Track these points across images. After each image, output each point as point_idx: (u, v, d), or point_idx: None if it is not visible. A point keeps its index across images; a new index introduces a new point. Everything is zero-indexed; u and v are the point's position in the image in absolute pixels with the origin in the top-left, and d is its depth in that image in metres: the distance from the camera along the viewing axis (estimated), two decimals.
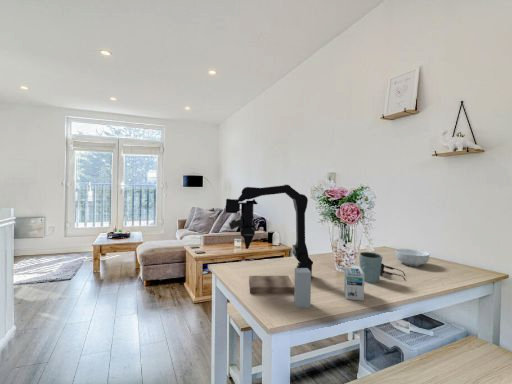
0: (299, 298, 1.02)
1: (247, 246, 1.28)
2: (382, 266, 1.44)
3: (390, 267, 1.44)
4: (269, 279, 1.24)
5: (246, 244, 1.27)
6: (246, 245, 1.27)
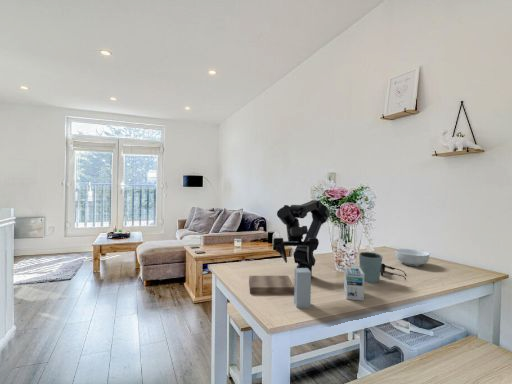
0: (299, 298, 1.02)
1: (309, 260, 1.13)
2: (383, 266, 1.44)
3: (391, 267, 1.44)
4: (269, 279, 1.24)
5: None
6: (310, 257, 1.13)
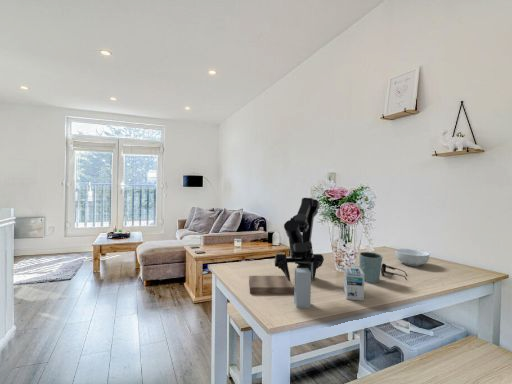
0: (299, 298, 1.02)
1: None
2: (384, 266, 1.44)
3: (392, 267, 1.43)
4: (269, 279, 1.24)
5: (314, 275, 1.07)
6: None
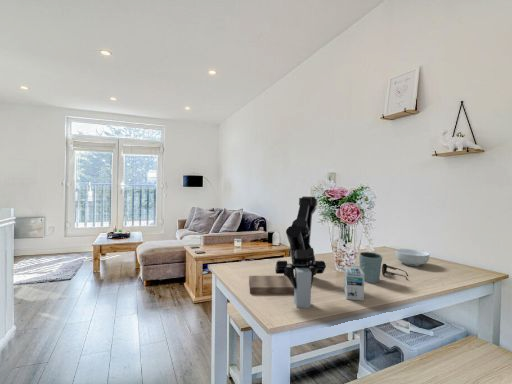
0: (299, 298, 1.02)
1: (311, 285, 1.04)
2: (385, 266, 1.44)
3: (393, 267, 1.43)
4: (269, 279, 1.24)
5: (311, 282, 1.04)
6: None
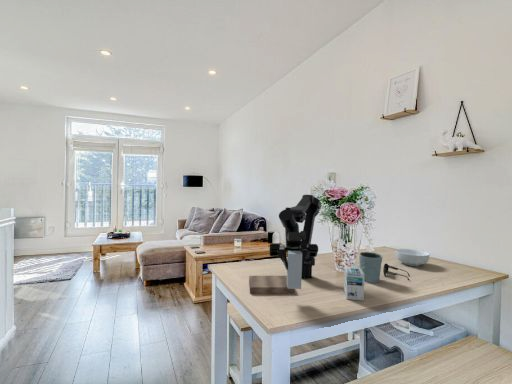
0: (289, 279, 1.04)
1: (302, 267, 1.06)
2: (386, 266, 1.44)
3: (395, 267, 1.43)
4: (269, 279, 1.24)
5: (303, 264, 1.06)
6: (303, 265, 1.06)
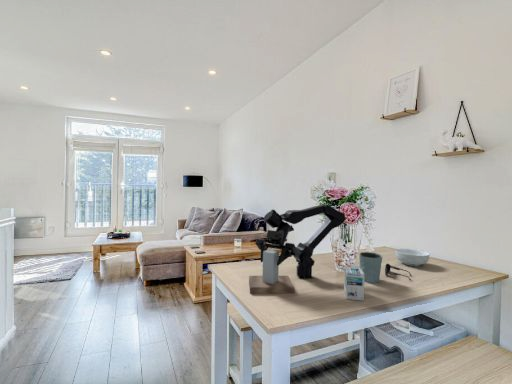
0: (264, 273, 1.20)
1: (279, 263, 1.18)
2: (388, 266, 1.44)
3: (396, 267, 1.43)
4: None
5: (280, 260, 1.19)
6: (280, 260, 1.18)
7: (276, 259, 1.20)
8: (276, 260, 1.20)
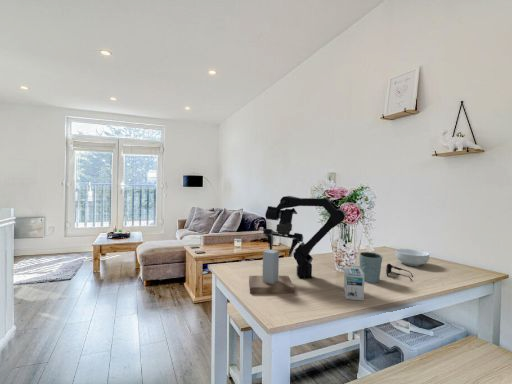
0: (264, 273, 1.20)
1: (291, 252, 1.31)
2: (390, 266, 1.44)
3: (398, 268, 1.43)
4: None
5: (292, 250, 1.31)
6: (292, 250, 1.31)
7: (276, 259, 1.20)
8: (276, 260, 1.20)
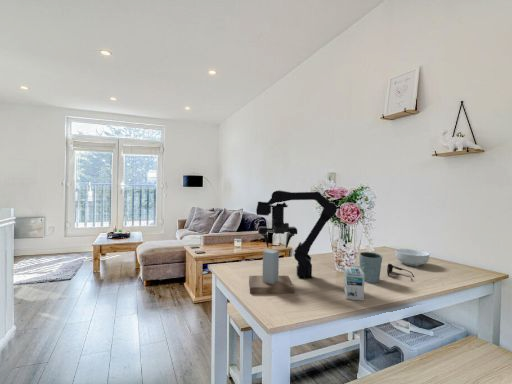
0: (264, 273, 1.20)
1: None
2: (390, 266, 1.44)
3: (399, 268, 1.43)
4: None
5: None
6: None
7: (276, 259, 1.20)
8: (276, 260, 1.20)
